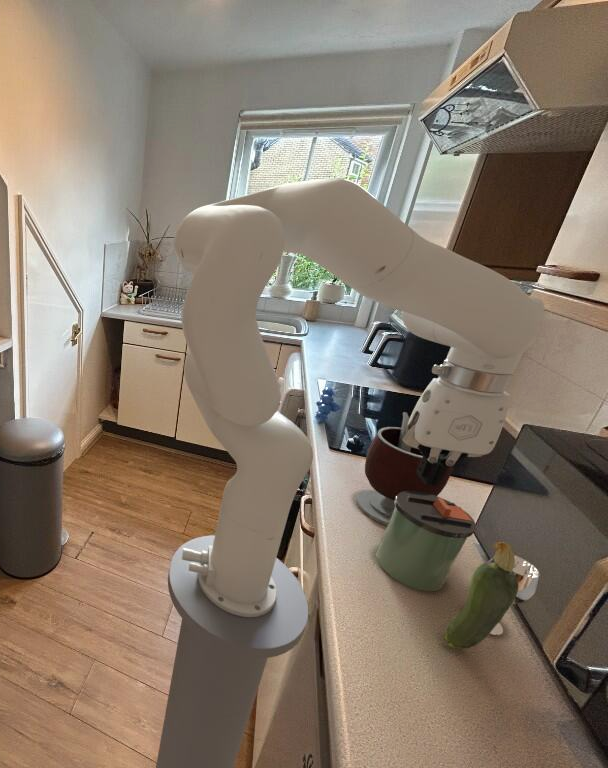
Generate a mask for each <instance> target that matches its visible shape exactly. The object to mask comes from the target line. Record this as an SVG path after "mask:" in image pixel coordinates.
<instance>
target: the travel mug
mask: <svg viewBox="0 0 608 768" xmlns="http://www.w3.org/2000/svg"><path fill="white" fill-rule="evenodd" d="M437 498H441V499H443V500H444V501H445V502H446V504H447V505H452V506H457V504H456V503H455V502H451V501H449V500H447V499H445V498H443V497H440V496H439V495H438V496H435V495H432V494H428V493H424V492H419V491H403V492H400V493H398V494H397V496H396V498H395V501H394V504H395V508H394V511H393V513H392V516H391V518H390V521H389V523H388V525H386V527H385V530H384V533H383V535H382V537H381V538H382V539H381V540H380V543H379V545H378V548H377V551H376V553H375V557H376V560H377V561H376V562H377V563H378V564H379V566H380V567H381V568H382V570H384V572H385V573H387V574H388V576H390V577H392V578H393V579H394V580H396V581H397V582H399V583H401V584H403V585H405V586H407V587H410V588H412V589H415V590H419V591H423V592H436V591H439V590H440V589H442V587H443V586H444V585H445V582H446V580H447V578H448V576H449V574H450V573H451V571H452V568H453V566H454V564H455V562H456V561H457V559H458V556H459V555H460V553H461V550H462V548H463V547H464V544H465V543H466V541H467V539H468V538H469V537H471V536H473V534H474V533H475V531H476V529H477V524H476V522H475V520H474V519H473V517H472V516H471V515H470V514H469V513H468V512H467V511H466V510H464V512H465V513H466V514H467V515H468V516H469V517H470V518H471V520H472V523H471V522H470V521H465V520H459V519H454V518H448V517H443V516H442V515H441V514H440V512H439V511H438V510H437V509H436V507H435V506H434V505H433V503H435V502H436V499H437Z"/></svg>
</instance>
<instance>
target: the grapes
mask: <svg viewBox="0 0 608 768" xmlns="http://www.w3.org/2000/svg"><path fill="white" fill-rule="evenodd" d="M321 392H322V394H320V399H319V400H317V401H316V402H315V404H316V406H317V409H318V410H317V411H315V416H314V418H315V420H316V421H317V422H318V423H324V422H325V421H328V418H329V417H328V415H330V414H331V412H333V413H335V412H338V411H339V410H341V407H340V404H339V403H338V402H335V399H334V398H333V396H334V395H335V391H334V390H333V388H332V387H329V386H328V387H325V388H323V389H322V390H321Z"/></svg>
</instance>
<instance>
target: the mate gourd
mask: <svg viewBox="0 0 608 768" xmlns="http://www.w3.org/2000/svg"><path fill="white" fill-rule="evenodd" d="M408 414H409V413H408V412H405V411H404V412H402V422H401V427H397V426H386V427H381V428H380V429H379V430H377V433H376V435H375V436H374V438H373V439H372V441H371V443H370V444H369V447H368V449H367V452H366V457H365V462H364V474H365V477H366V479H367V480H368V483H369V485H370V487H372V489H365V490H361V491H359V492H358V493H357V495H356V497H355V498H356V499H355V502H356V505H357V506H358V508H359V509H360V511H362V512H363V514H365V515H367V516H368V517H369V518H371V519H372V520H374V521H375V522H377V523H380V524H382V525H384V526H387V525H388V523H389V521H390V518H391V516H392V513H393V511H394V508H395V504H394V501H395V498H396V496H397V494H398V493H400V492H403V491H419V492H424V493H428V494H432V495H435V496H438V497H439V495H440V494H441V493H442V491H443V490H444V488H445V487H446V486H447V484H448V482H449V479H450V477H451V475H452V473H453V469H454V465H452V466H448V468H447V470H446V472H445V474H444V476H443V478H442V480H440V482H439V484H438V486H432V485H431V484H430V485H426V484H424V482H423V481H422V480H421V479H420V478H419V477H418V475H417V469H418V466H419V464H420V462H421V459H422V457H423V455H422V454H421V452H420V451H419V449H416V448H413V447H411V446H408V445H406V444H405V443H404V441H403V438H404V436H405V435H406V434H407V432H408V431H407V424H408V421H409V419H410V416H409V415H408Z"/></svg>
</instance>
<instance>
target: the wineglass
mask: <svg viewBox="0 0 608 768" xmlns="http://www.w3.org/2000/svg"><path fill="white" fill-rule="evenodd" d="M514 557H515V564H514V568H513V571H512V572H513V573H514V575H515V577H516V579H517V581H518V592H517V595H516V597H515V599H514V601H513V603H512V604H511V605H513V606H514V605H516V606H518V605H525V604H527V603H529V602H530V601H531V600H532V599H534V597H535V595H536V593H537V591H538V587H539V582H540V575H541V574H540V571H539V569H538V568H537V567H535V565H533V564H532V563H531V562H529V561H528V560H526V559H524V558H522V557H520V556H518V555H515V554H514ZM487 563H495V560H494V556H492V558H490V559H489V560H488V561H487ZM503 634H504V628H503V626H502V625H501V623H500V622H499V623H498V624H497V625H496V626H495V627H494V629H493V630H492V631H491V632H490V634H489V635H493V636H501V635H503Z"/></svg>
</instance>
